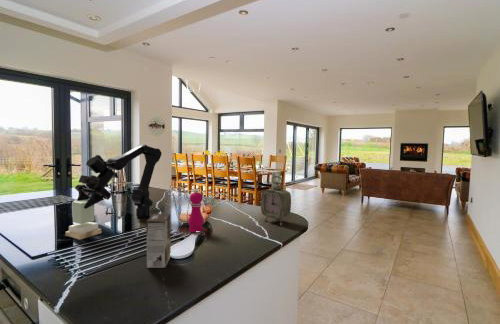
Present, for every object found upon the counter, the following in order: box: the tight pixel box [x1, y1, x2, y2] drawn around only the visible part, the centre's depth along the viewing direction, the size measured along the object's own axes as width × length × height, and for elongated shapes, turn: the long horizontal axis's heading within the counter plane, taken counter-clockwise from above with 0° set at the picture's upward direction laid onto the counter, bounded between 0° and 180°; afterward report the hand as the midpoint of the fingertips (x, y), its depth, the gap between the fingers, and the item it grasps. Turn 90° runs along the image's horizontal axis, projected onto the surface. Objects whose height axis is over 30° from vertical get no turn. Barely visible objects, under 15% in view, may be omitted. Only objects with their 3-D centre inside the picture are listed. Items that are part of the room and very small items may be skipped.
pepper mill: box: [187, 188, 205, 234], centre depth 131 cm, size 7×7×20 cm
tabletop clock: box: [260, 175, 292, 226], centre depth 147 cm, size 14×9×25 cm, turn 47°
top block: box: [68, 221, 99, 234], centre depth 123 cm, size 8×8×2 cm
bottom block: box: [64, 227, 102, 241], centre depth 123 cm, size 10×10×2 cm
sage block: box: [71, 199, 95, 224], centre depth 123 cm, size 6×6×9 cm
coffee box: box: [146, 213, 172, 269], centre depth 96 cm, size 9×6×16 cm
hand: (80, 207), depth 121 cm, fingers closed on sage block, 6 cm apart
